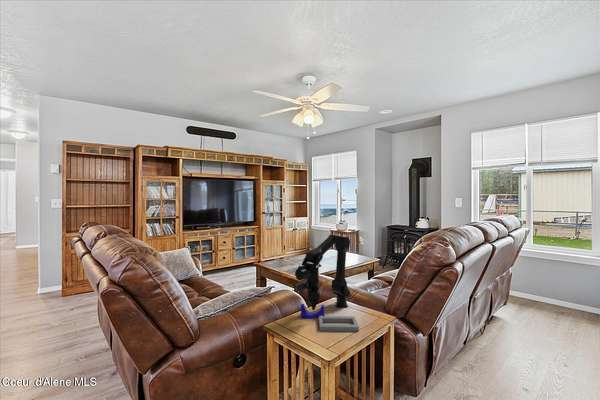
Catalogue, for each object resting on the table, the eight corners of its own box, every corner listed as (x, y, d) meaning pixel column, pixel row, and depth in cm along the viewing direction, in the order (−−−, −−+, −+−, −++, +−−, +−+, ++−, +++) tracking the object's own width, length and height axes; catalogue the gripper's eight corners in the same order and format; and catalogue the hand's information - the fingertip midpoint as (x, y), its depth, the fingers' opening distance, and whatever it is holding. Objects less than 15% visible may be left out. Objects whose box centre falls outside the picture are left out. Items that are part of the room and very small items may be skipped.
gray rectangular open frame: (318, 319, 148) (318, 316, 148) (354, 320, 148) (354, 316, 148) (320, 330, 136) (320, 326, 136) (358, 331, 136) (358, 327, 136)
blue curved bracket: (300, 318, 150) (300, 307, 150) (301, 315, 155) (301, 303, 155) (324, 319, 149) (324, 307, 149) (324, 316, 154) (324, 304, 154)
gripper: (297, 271, 161) (297, 299, 161) (297, 281, 142) (297, 313, 142) (318, 271, 160) (318, 299, 161) (320, 281, 142) (319, 313, 142)
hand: (313, 306), depth 151 cm, fingers open, 9 cm apart
